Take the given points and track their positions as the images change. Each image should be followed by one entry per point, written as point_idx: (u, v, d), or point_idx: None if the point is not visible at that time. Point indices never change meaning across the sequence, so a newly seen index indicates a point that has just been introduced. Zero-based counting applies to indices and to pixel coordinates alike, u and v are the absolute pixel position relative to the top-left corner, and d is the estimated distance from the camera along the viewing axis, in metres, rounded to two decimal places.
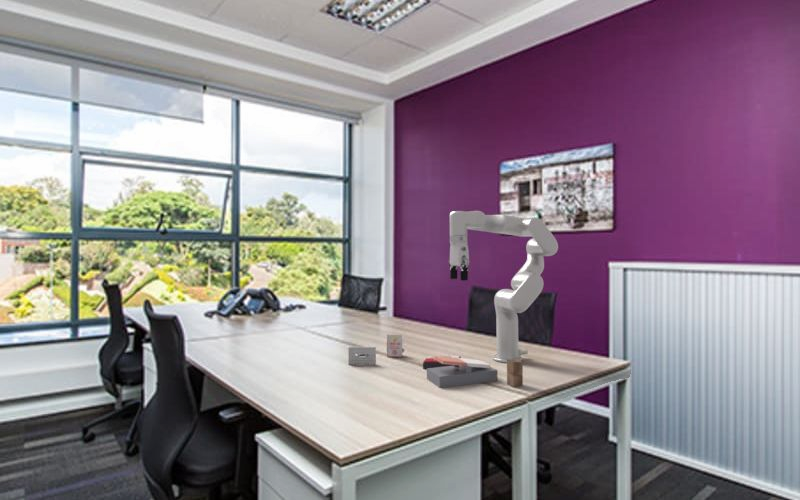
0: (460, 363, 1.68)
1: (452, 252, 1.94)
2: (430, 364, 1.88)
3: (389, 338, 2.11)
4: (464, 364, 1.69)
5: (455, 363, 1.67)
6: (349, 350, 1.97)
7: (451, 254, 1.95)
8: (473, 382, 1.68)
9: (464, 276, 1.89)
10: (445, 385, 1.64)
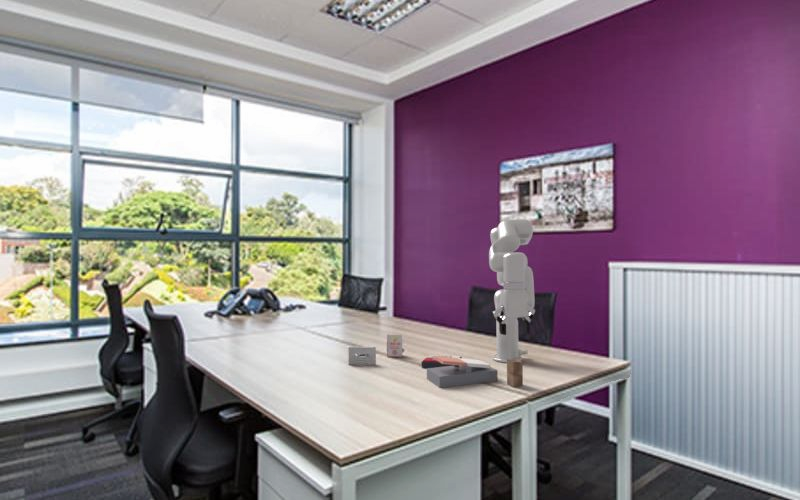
0: (460, 363, 1.68)
1: (517, 302, 1.62)
2: (428, 363, 1.89)
3: (389, 338, 2.11)
4: (464, 364, 1.69)
5: (455, 363, 1.67)
6: (349, 350, 1.97)
7: (512, 304, 1.62)
8: (473, 382, 1.68)
9: None
10: (445, 385, 1.64)
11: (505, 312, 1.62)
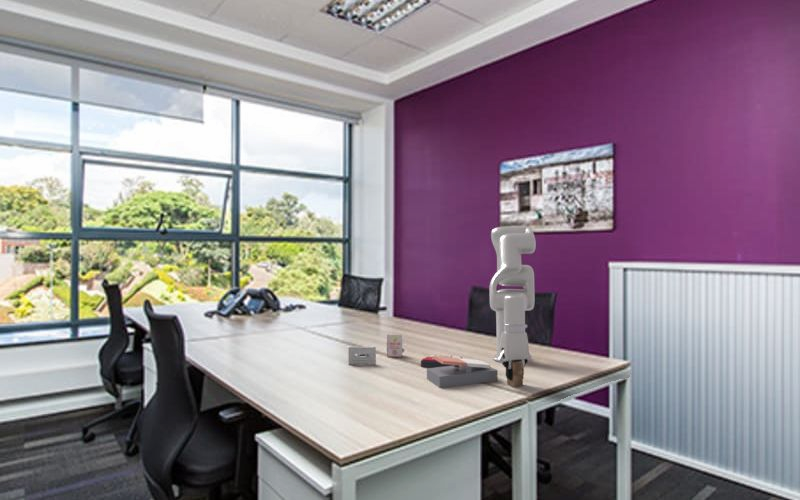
0: (460, 363, 1.68)
1: (517, 345, 1.63)
2: (427, 362, 1.90)
3: (389, 338, 2.11)
4: (464, 364, 1.69)
5: (455, 363, 1.67)
6: (349, 350, 1.97)
7: (513, 347, 1.62)
8: (473, 382, 1.68)
9: None
10: (445, 385, 1.64)
11: (505, 355, 1.62)
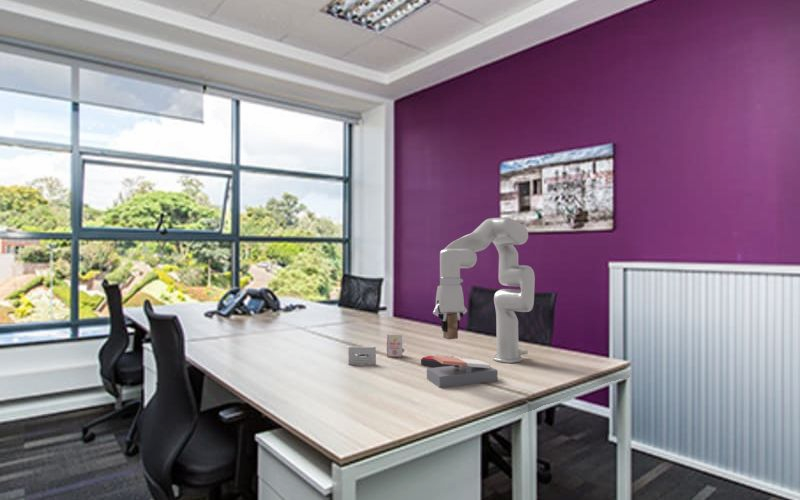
0: (460, 363, 1.68)
1: (452, 297, 1.67)
2: (426, 361, 1.93)
3: (389, 338, 2.11)
4: (464, 364, 1.69)
5: (455, 363, 1.67)
6: (349, 350, 1.97)
7: (447, 299, 1.66)
8: (473, 382, 1.68)
9: None
10: (445, 385, 1.64)
11: (440, 307, 1.66)
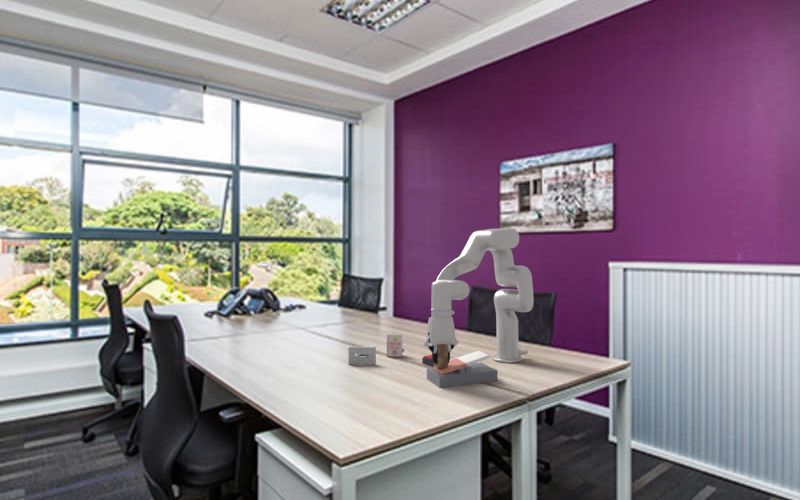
0: (459, 366, 1.68)
1: (443, 330, 1.67)
2: (426, 360, 1.95)
3: (389, 338, 2.11)
4: (463, 365, 1.68)
5: (454, 368, 1.67)
6: (349, 350, 1.97)
7: (438, 332, 1.67)
8: (473, 382, 1.68)
9: None
10: (445, 385, 1.64)
11: (431, 339, 1.66)
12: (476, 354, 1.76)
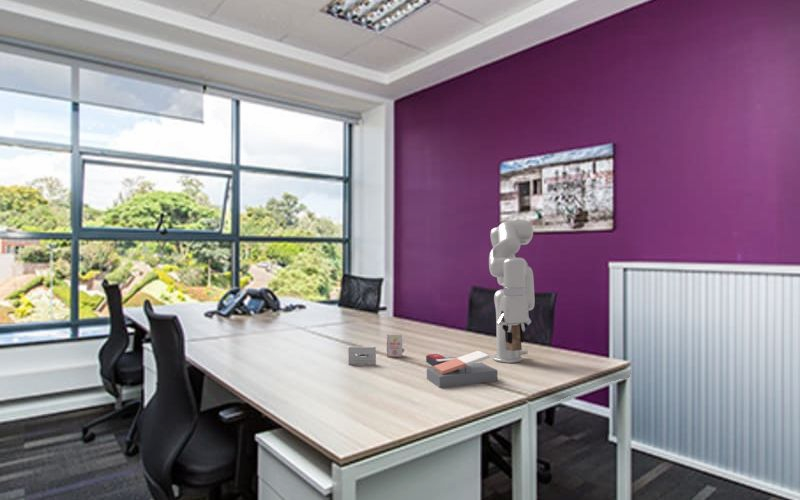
0: (459, 366, 1.68)
1: (517, 308, 1.63)
2: (428, 358, 1.97)
3: (389, 338, 2.11)
4: (463, 365, 1.68)
5: (454, 368, 1.67)
6: (349, 350, 1.97)
7: (512, 310, 1.62)
8: (473, 382, 1.68)
9: None
10: (445, 385, 1.64)
11: (505, 318, 1.62)
12: (476, 354, 1.76)
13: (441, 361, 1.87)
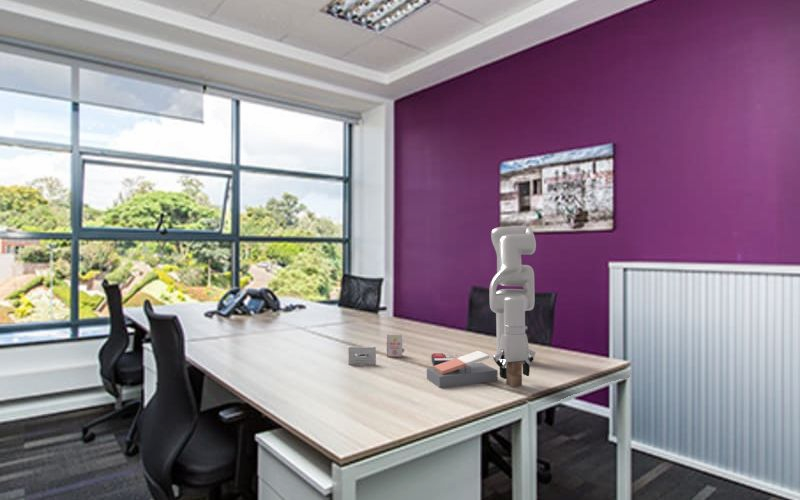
0: (459, 366, 1.68)
1: (517, 346, 1.63)
2: (431, 357, 2.00)
3: (389, 338, 2.11)
4: (463, 365, 1.68)
5: (454, 368, 1.67)
6: (349, 350, 1.97)
7: (513, 349, 1.62)
8: (473, 382, 1.68)
9: None
10: (445, 385, 1.64)
11: (505, 356, 1.62)
12: (476, 354, 1.76)
13: (437, 360, 1.89)
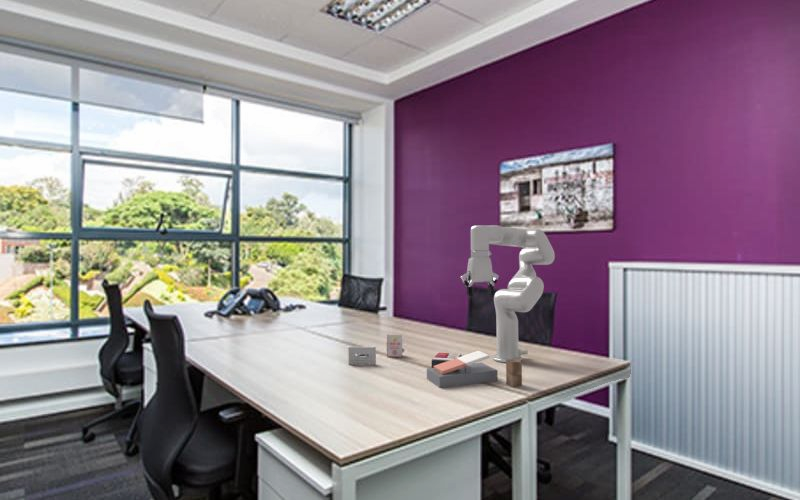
0: (459, 366, 1.68)
1: (482, 268, 1.86)
2: None
3: (389, 338, 2.11)
4: (463, 365, 1.68)
5: (454, 368, 1.67)
6: (349, 350, 1.97)
7: (478, 270, 1.86)
8: (473, 382, 1.68)
9: None
10: (445, 385, 1.64)
11: (471, 277, 1.85)
12: (476, 354, 1.76)
13: (435, 359, 1.90)
